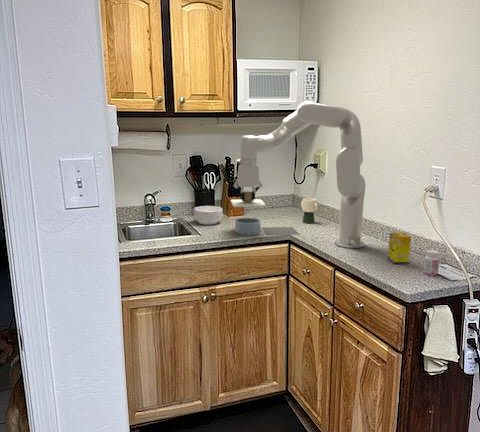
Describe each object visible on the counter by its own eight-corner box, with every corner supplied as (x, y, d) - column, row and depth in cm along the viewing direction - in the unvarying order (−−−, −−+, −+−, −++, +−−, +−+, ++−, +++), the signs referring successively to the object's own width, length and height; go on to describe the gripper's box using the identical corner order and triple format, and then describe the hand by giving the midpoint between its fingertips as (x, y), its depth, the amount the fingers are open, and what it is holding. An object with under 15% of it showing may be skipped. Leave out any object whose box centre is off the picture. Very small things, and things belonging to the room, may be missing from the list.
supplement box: (387, 259, 177) (389, 232, 174) (402, 259, 177) (404, 232, 175) (393, 264, 171) (395, 236, 169) (408, 264, 171) (411, 236, 169)
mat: (300, 235, 213) (300, 234, 212) (266, 236, 211) (266, 235, 211) (292, 228, 228) (292, 226, 228) (261, 228, 226) (261, 227, 226)
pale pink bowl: (222, 226, 231) (222, 211, 229) (192, 226, 230) (192, 210, 229) (223, 220, 246) (223, 205, 244) (195, 219, 245) (194, 205, 244)
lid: (265, 206, 208) (266, 194, 207) (233, 206, 207) (233, 194, 206) (260, 201, 223) (261, 189, 222) (230, 201, 221) (230, 189, 220)
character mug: (320, 224, 238) (322, 199, 235) (312, 226, 233) (313, 201, 230) (304, 220, 245) (305, 197, 243) (296, 222, 241) (297, 198, 238)
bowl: (261, 235, 212) (262, 223, 211) (236, 235, 211) (236, 223, 210) (257, 229, 224) (258, 217, 223) (233, 229, 223) (234, 218, 222)
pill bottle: (433, 277, 157) (435, 254, 155) (420, 273, 160) (422, 250, 159) (440, 274, 159) (443, 251, 158) (428, 271, 163) (430, 248, 161)
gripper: (231, 163, 206) (231, 202, 210) (267, 163, 208) (266, 202, 212) (229, 161, 213) (229, 199, 217) (264, 161, 215) (263, 199, 219)
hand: (247, 200), depth 214 cm, fingers closed on lid, 4 cm apart
